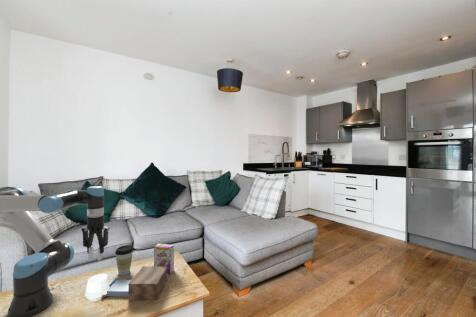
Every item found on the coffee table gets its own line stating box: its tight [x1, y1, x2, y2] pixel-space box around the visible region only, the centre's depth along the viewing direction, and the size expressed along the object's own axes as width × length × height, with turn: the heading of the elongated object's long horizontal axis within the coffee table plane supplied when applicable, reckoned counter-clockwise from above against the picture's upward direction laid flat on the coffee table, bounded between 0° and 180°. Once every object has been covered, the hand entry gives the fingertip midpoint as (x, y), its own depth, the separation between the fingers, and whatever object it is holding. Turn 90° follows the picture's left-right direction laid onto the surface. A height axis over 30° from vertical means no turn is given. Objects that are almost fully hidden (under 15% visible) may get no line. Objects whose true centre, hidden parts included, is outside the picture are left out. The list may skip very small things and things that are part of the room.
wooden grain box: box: [128, 265, 168, 301], centre depth 114 cm, size 14×16×8 cm
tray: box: [105, 277, 132, 297], centre depth 114 cm, size 14×10×4 cm
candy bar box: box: [153, 243, 175, 275], centre depth 132 cm, size 11×5×16 cm, turn 80°
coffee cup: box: [114, 244, 134, 276], centre depth 130 cm, size 10×10×15 cm
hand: (95, 259), depth 113 cm, fingers open, 4 cm apart
